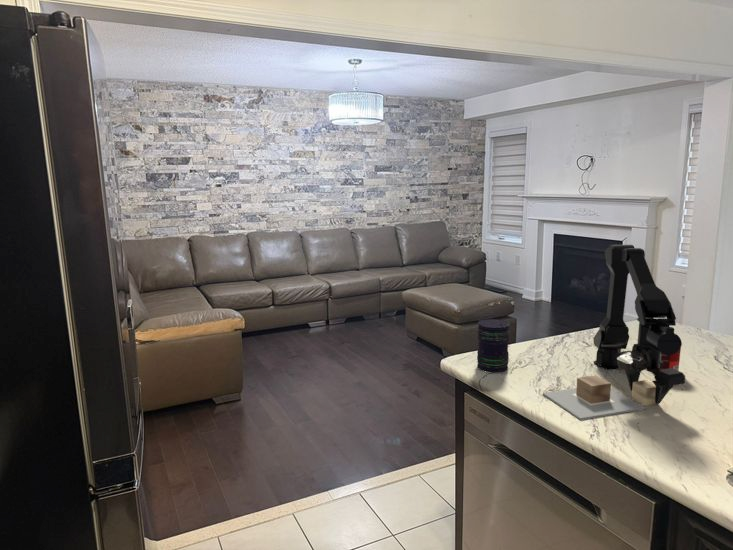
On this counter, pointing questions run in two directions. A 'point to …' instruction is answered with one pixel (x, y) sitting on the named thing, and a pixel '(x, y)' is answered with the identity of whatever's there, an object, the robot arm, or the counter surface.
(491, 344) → the black jar
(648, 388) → the maple block
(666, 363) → the canned food
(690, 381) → the counter surface
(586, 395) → the walnut block
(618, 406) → the build mat
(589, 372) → the counter surface
